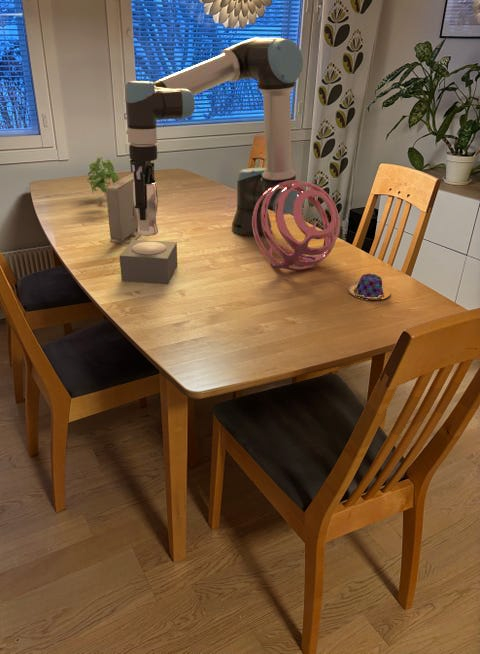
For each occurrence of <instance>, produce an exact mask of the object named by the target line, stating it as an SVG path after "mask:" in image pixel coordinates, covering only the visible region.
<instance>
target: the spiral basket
mask: <svg viewBox="0 0 480 654" xmlns="http://www.w3.org/2000/svg"><path fill="white" fill-rule="evenodd" d="M290 183H292V184H290ZM300 186H302V188H301V187H300ZM303 187H307V188H308V189H305V188H303ZM277 189H283V190H282V192H281V193H280V195H279V197H278V199H277V202H276V206H275V212H274V218H275V223H276V226H277V229H278V231H279V233H280V235H281V237H282V239H283V240H284V241H285V242H286V243H287V245H289V247H291V248H292V249H293V250H291V249H289V248H287V247H285V246H284V245H283V244H278V243H277V241H276V240H275V238H274V236H273V234H272V231H271V232H270V229H269V225H268V219H267V210H268V205H269V201H270V199H271V197H272V195H273V194H274V192H275V191H276V190H277ZM292 190H293V191H296V192H298V193H300V194H299V195H298V196H297V197H296V199H295V201H294V205H293V212H292V215H293V220H294V221H295V224H296V227H298V229H299V231H300V232H302V233H303V235H305V237H304V238H303V240H302V241H298V240H297V239H296V238H295V237H294V236H293V234H292V233H291V231H290V230H289V228H288V226H287V223H286V220H285V214H283V208H284V202H285V199H286V197H287V196H288V194H289V193H290V192H291V191H292ZM265 196H266V197H265ZM264 197H265V199H264V201H263V204H262V208H261V225H262V230H263V233H264V235H263V236H264V238H265V241H266V242H267V243H268V245H269V250H267V249H266V247H265V246H264V243H263V242H262V240H261V238H260V237H261V236H259V234H258V230H257V223H256V217H257V210H258V207H259V204H260V202H261V201H262V199H263V198H264ZM316 197H317V198H320V199H321V200H322V201H323V202H324V203H325V205H326V207H327V209H328V211H329V213H330V216H331V217H330V221H329V219H328V216H327V213H326V211H325V209H324V207H323V206H322V204H321V203H320V201H319V200H318V199H317V198H316ZM306 200H308V202H309V201H310V203H312V205H313V206H314V208H315V209H316V211H317V212H318V214H319V217H320V219H321V223H322V227H323V229H322V230H318V229H316V228H317V227H316V226H317V220H315V221H314V222H313V224H312V225H311V226H310V225H308V224H307V222H306V220H305V218H304V216H303V204H304V203H305V201H306ZM268 211H269V210H268ZM340 225H341V224H340V215H339V212H338V209H337V206H336V203H335V202H334V200H333V198H332V197H331V196H330V195H329V194H328V193H327V191H325V190H324V189H323V188H322V187H320V186H319V185H317V184H315V183H311V182H308V181H303V180H298V179H296V180H289V181H285V182H282V183H279V184H278V185H276V186H274V187H272V188H270V189H268V190H267V191H266V192H265V193H263V195H262V196H261V197H260V198H259V200H258V201H257V203H256V205H255V208H254V211H253V216H252V228H253V233H254V236H253V237H254V240H255V242H256V244H257V246H258V248H259V249H260V251H261V253H262V254H263V255H264V257H266V258H267V259H268V261H269V263H270V264H271V266H272V267H275V268H277V269H283V270H287V271H292V272H293V271H294V272H295V271H296V272H297V271H298V272H300V271H305V270H308V269H311V268H312V267H314V266H316V265H317V264H319V263H320V262H322V261H324V259H326V258H328V256H329V255H330V253H332V251H333V249H334V247H335V244H336V241H337V240H338V236H339V233H340V227H341V226H340ZM311 240H324V241H323V244H322V246H320V247H311V246H309V243H310V241H311ZM273 252H274V253H275V254H276V255H277V256H278V257H279V258H280V259H282V261H279V260H277V259H276V258H274V256H273ZM293 266H299V267H293Z"/></svg>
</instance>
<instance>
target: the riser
mask: <svg viewBox="0 0 480 654" xmlns="http://www.w3.org/2000/svg"><path fill="white" fill-rule="evenodd" d="M131 240H132V239H131ZM131 240H130V241H131ZM177 244H178V243H177V241H166V240H165V241H162V240H145V239H144V240H143V239H142V240H141V239H137V240H132V241H131V242H130V243H129V244H128V245H127V246H126V247H125V248H124V249H123V251H122V252H121V253H120V254H119V265H120V266H119V267H120V276H121V282H131V283H143V284H145V283H147V284H161V285H162V284H163V285H169V283H170V281H171V279H172V278H173V276H174V274H175V271H177V268H178V245H177Z"/></svg>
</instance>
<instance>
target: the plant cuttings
mask: <svg viewBox="0 0 480 654" xmlns="http://www.w3.org/2000/svg"><path fill="white" fill-rule="evenodd" d="M102 159H103V158H102V157H100V156H98V157H96V161H94V162H91V163H90V165H88V166H89V170H90V171H88V174H87V176H89V177H88V178H87V179H86V181H87V182H88V183H89V185H90V187H91V191H92V194H94V192H97V191H98V190H99V189H100V191H101V192H102V193H104V196H103V197H102V196H99V197H97V198H98V199H97V200H98V203H100V205H102V204H103V203H104V201H105V199H107V197H106V189H107V187H108V186H110V185H111V184H110V183H111V182H110V179H111V181H112V184H114V183H115V182H117V181H119V180H120V177H119V175H118V174H117V173H116V172H115V168H114V165H113V163H112V162H111V160H110V159H106V160H103V161H102ZM106 170H107V171H106ZM107 181H109V182H107Z"/></svg>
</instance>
